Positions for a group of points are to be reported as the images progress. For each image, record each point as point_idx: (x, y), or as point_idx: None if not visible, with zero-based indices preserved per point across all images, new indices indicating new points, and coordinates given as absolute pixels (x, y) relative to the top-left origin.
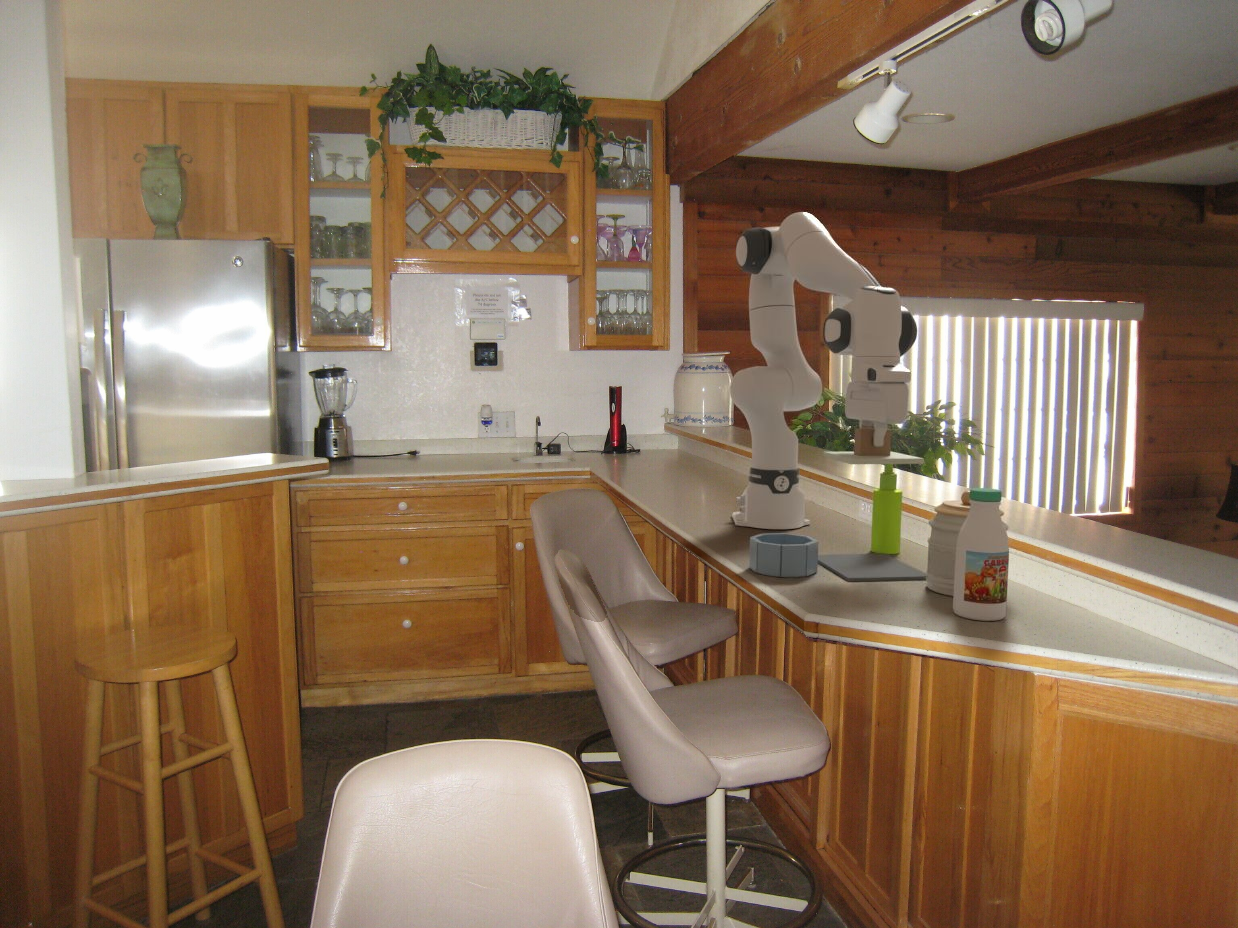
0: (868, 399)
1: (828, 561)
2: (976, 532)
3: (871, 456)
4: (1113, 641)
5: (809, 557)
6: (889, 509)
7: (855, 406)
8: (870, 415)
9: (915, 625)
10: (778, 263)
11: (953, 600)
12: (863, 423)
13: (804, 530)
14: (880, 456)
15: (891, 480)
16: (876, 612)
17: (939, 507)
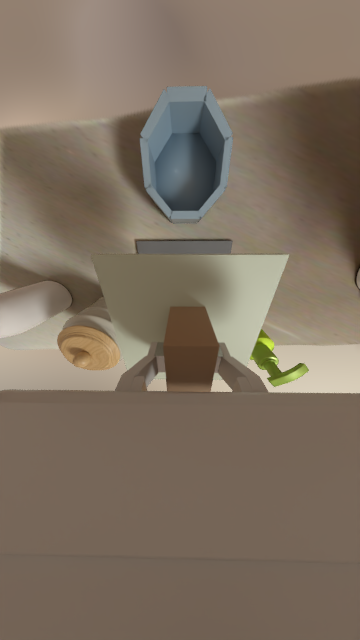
0: (162, 573)
1: (201, 249)
2: None
3: (155, 322)
4: (29, 331)
5: (153, 200)
6: None
7: (342, 468)
8: (126, 414)
9: (9, 238)
10: None
11: (49, 283)
12: (237, 387)
13: (344, 285)
14: (157, 337)
15: (255, 358)
16: (36, 220)
17: (83, 331)
